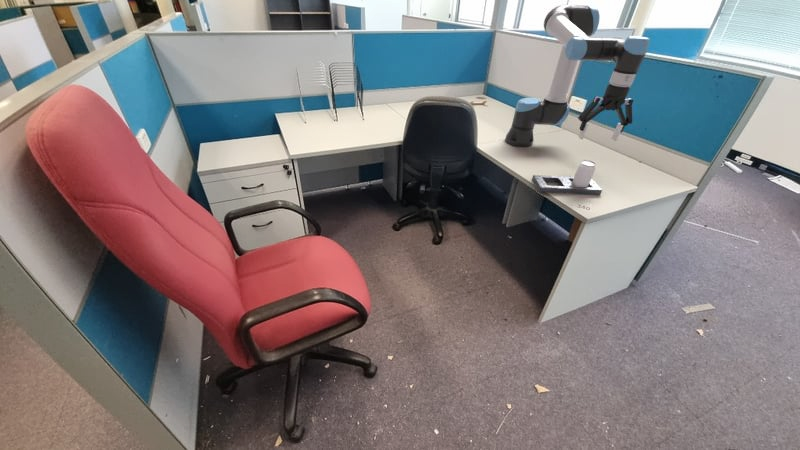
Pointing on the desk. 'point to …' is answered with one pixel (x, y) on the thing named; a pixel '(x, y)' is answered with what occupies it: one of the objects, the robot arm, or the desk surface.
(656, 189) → the desk surface
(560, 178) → the holder
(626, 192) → the desk surface
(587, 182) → the can
